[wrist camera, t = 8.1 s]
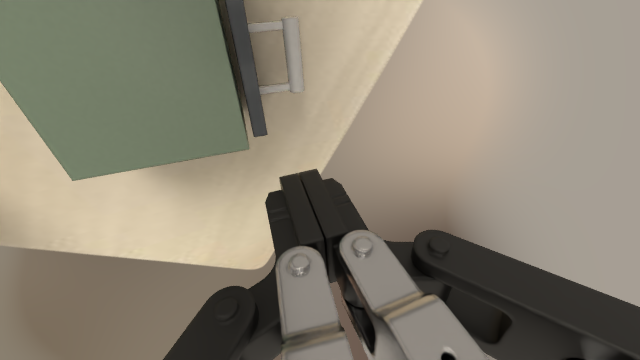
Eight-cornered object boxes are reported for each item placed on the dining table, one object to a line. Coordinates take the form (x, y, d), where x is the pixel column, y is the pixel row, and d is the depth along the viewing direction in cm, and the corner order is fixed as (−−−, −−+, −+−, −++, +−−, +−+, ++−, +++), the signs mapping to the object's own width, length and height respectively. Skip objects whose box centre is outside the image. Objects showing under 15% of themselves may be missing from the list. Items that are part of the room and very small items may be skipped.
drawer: (284, -23, 24) (303, -26, 19) (296, 101, 31) (313, 127, 25) (70, -11, 21) (13, -10, 15) (136, 125, 28) (113, 161, 22)
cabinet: (211, -28, 24) (207, -34, 16) (243, 111, 31) (249, 149, 24) (27, -18, 21) (-74, -20, 14) (110, 132, 28) (72, 181, 21)
